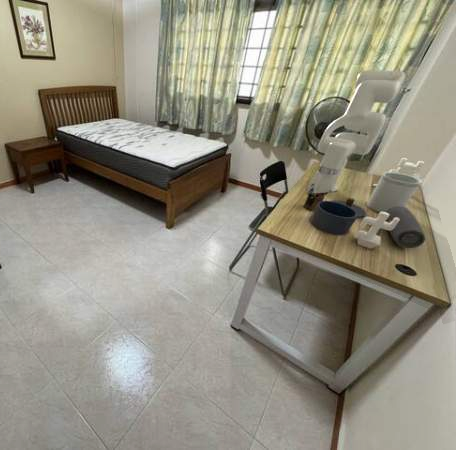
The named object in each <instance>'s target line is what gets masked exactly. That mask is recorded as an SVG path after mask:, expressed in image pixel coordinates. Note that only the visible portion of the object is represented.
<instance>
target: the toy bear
mask: <svg viewBox="0 0 456 450" xmlns="http://www.w3.org/2000/svg"><path fill="white" fill-rule="evenodd" d="M322 194H323V192H322V193H317V194H316V195H315V197H314V198H313V199H314V201H313V203H312V205H311V206H309V205H307V204H306V201H307V198H308V196H307V197H306V200H305V202H304V204H303V207H305V208H306V209H308V210H309V211H310V212H314V210H315V208H316V206H317V204H318V202H321V201H324V199H325V197H324V196H322ZM312 195H313V193H312Z"/></svg>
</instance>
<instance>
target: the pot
mask: <svg viewBox="0 0 456 450" xmlns="http://www.w3.org/2000/svg"><path fill="white" fill-rule="evenodd" d="M312 212H313V213H312V214H311V217H310V219H309V221H310V224H311V226H313V227H314V228H316V229H318V230H320V231H321V232H324V233H326V234H331V235H337V236H339V235H340V236H342V235H346V234H348V233H349V232H350V230H351V228H352V226H354V223H355V221H356V220H357V218H358V217H357V216H358V213H357V212H356V211H355V210H354V209H353V208H351V207H349V206H347V205H344V204H341V203H338V202H333V200H323V201H321V202H318V204H317V206H316V208H315V210H313V211H312Z"/></svg>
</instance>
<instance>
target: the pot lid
mask: <svg viewBox="0 0 456 450" xmlns="http://www.w3.org/2000/svg"><path fill="white" fill-rule="evenodd" d="M332 201H333V202H338V203H341V204H344V205H347V206H349V207H351V208H353V209H354V210H355V211H356V212H357V213H358V216H357V218H362V217H366V215H367V212H366V210H365V209H364V208H363V207H361V206H359V205H357V204H355V203H354V202H355V201H356V199H354V198H352V197H347V199H346V201H344V200H339V199H336V200H333V199H332Z"/></svg>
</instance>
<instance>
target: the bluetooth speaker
mask: <svg viewBox="0 0 456 450" xmlns="http://www.w3.org/2000/svg"><path fill="white" fill-rule="evenodd" d="M386 213H388V214H389V217H388V218H387V219H386V220H385V222H388V223H391V222H392V220H393V219H394V218H396V217H397V218H399V219H400V220H399V222H398V223H397V225H396V226H395V227H394V229H393V230H390V231H389V233H390V236H391V238H392V239H393V241H394V242H395V243H396V244H397V245H398V246H399V247H402V248H406V249H415V248H418V247H420V246H422V245H423V244H424V243H425V241H426V235H425V233H424V230H423V228H422V226H421V224H420V223H419V221H418V220H417V217H415V215H414V214H413V213H412V212H411V210H410V209H408V208H407V207H406V206H405V207H403V206H395V207H392V208H390V209H388V210H387V211H386Z"/></svg>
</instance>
